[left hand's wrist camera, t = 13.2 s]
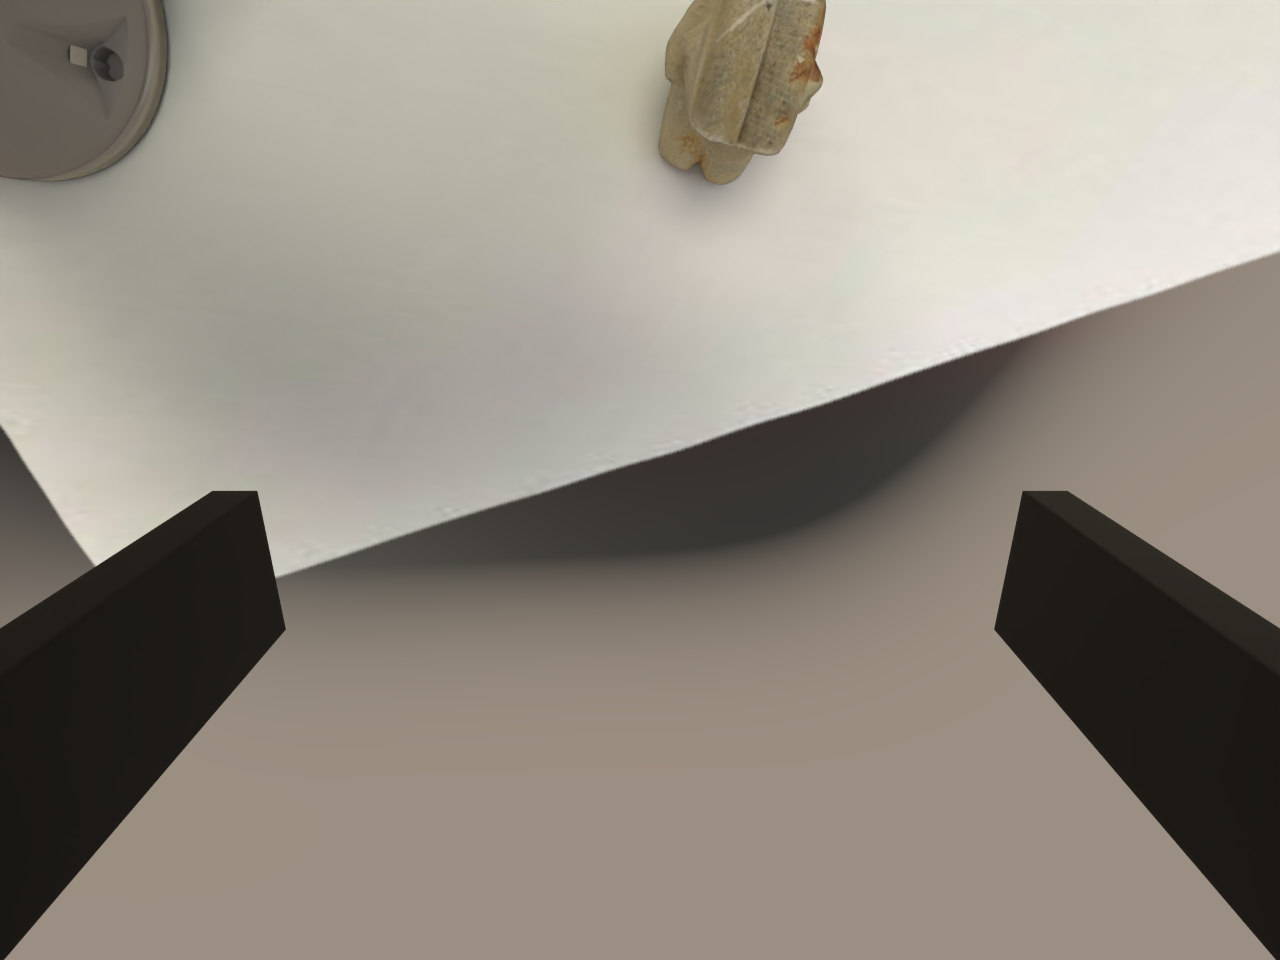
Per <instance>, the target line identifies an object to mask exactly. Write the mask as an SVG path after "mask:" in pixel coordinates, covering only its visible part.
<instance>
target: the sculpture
mask: <svg viewBox="0 0 1280 960" xmlns="http://www.w3.org/2000/svg"><path fill="white" fill-rule="evenodd" d="M825 11H826V1H825V0H695V1H693V3H692V4H691V5H690V7H689V8H688V10H687V11H686V13H685V15H684V16H683V18H682V19H681V21H680V22H679V24H678V25H677V27H676V28H675V30H674V32H673V34H672V35H671V37H670V39H669V41H668V44H667V48H666V58H665V75H666V78H667V79H668V80H669V81H670V82H671V83H672V85H671V89H670V92H669V96H668V100H667V104H666V108H665V112H664V117H663V122H662V128H661V134H660V140H659V151H660V154H661V156H662V157H663V158H664V159H665V160H666V161H667V162H669V163H670V164H672V165H674V166H675V167H677V168H679V169H685V170H688V169H690V168H691V167H692V166H693V165H694V164H695V163H698V164H699V165H701V167H702V170H703V173H704V176H705V178H706V179H707V180H709V181H711V182H714V183H717V184H727V183H730V182H732V181H734V180H735V179H737V178H738V177H739V176H740V174H741V173H742V172H743V171H744V169H745V168H746V166H747V164H748V163H749V161H750V159H751V157H752V155H753V154H760V155H766V156H769V155H775V154H778V153H779V152H780V151H781V149H782V148H783V147H784V145H785V143H786V141H787V139H788V137H789V135H790V132H791V130H792V128H793V126H794V123H795V120H796V117H797V115H798V114H799V113H801V112H802V111H804V110H805V109H806V108H807V107H808V105H809V102H810V99H811V97H812V96H813V95H814V94H815V93H816V92H817V91H818V90H819V89H820V88H821V86H822V83H823V77H822V75H821V72H820V70H819V67H818V65H817V63H816V61H815V58H816V55H817V52H818V47H819V43H820V39H821V35H822V30H823V24H824V18H825Z"/></svg>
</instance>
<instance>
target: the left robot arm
mask: <svg viewBox="0 0 1280 960" xmlns="http://www.w3.org/2000/svg"><path fill="white" fill-rule="evenodd" d="M166 66H167V34H166V26H165V18H164V13H163V8H162V3H161V0H0V176H1V177H6V178H14V179H25V180H43V181H58V180H68V179H74V178H79V177H83V176H87V175H90V174H92V173H95V172H98V171H100V170H102V169H104V168H106V167H108V166H110V165H111V164H113V163H114V162H116V161H117V160H119V159H120V158H122V157H123V156H124V155H125V154H126V153H127V152H128V151H129V150H130V149H132V147H133V146H134V145H135V144H136V143H137V142H138V141H139V139H140V138H141V137H142V135H143V134H144V132H145V131H146V129H147V128H148V126H149V124H150V122H151V120H152V118H153V116H154V114H155V112H156V109H157V107H158V104H159V101H160V98H161V94H162V90H163V86H164V81H165V74H166ZM285 630H286V628H285V623H284V619H283V614H282V609H281V604H280V599H279V594H278V590H277V585H276V580H275V575H274V570H273V565H272V560H271V555H270V551H269V546H268V541H267V536H266V531H265V526H264V521H263V517H262V512H261V507H260V502H259V497H258V492H257V491H212V492H210V493H209V494H207V495H206V496H204V497H203V498H201V499H199V500H198V501H196V502H195V503H193V504H192V505H190V506H189V507H187V508H186V509H184V510H182V511H181V512H179V513H178V514H176V515H175V516H173V517H172V518H170V519H169V520H167V521H165V522H164V523H162V524H161V525H159V526H158V527H156V528H155V529H153V530H152V531H150V532H148V533H147V534H145V535H144V536H142V537H141V538H139V539H138V540H136V541H135V542H133V543H131V544H130V545H128V546H127V547H125V548H124V549H122V550H121V551H119V552H118V553H116V554H115V555H113V556H111V557H110V558H108V559H107V560H105V561H104V562H102V563H101V564H99V565H98V566H96V567H95V568H93V569H91V570H90V571H88V572H87V573H85V574H84V575H82V576H81V577H79V578H77V579H76V580H74V581H73V582H71V583H70V584H68V585H67V586H65V587H64V588H62V589H60V590H59V591H57V592H56V593H54V594H53V595H51V596H50V597H48V598H47V599H45V600H44V601H42V602H40V603H39V604H37V605H36V606H34V607H33V608H31V609H30V610H28V611H27V612H25V613H23V614H22V615H20V616H19V617H17V618H16V619H14V620H13V621H11V622H10V623H8V624H7V625H5V626H3V627H2V628H0V960H4V959H5V958H6V957H7V956H8V954H9V953H10V952H11V951H12V950H13V949H14V947H15V946H16V945H17V944H18V943H19V941H20V940H21V939H22V938H23V937H24V936H25V934H26V933H27V932H28V931H29V930H30V929H31V927H32V926H33V925H34V924H35V923H36V922H37V920H38V919H39V918H40V917H41V916H42V915H43V913H44V912H45V911H46V910H47V909H48V908H49V906H50V905H51V904H52V903H53V902H54V901H55V899H56V898H57V897H58V896H59V895H60V893H61V892H62V891H63V890H64V889H65V888H66V886H67V885H68V884H69V883H70V882H71V881H72V879H73V878H74V877H75V876H76V875H77V873H78V872H79V871H80V870H81V869H82V868H83V867H84V865H85V864H86V863H87V862H88V861H89V859H90V858H91V857H92V856H93V855H94V854H95V852H96V851H97V850H98V849H99V848H100V847H101V845H102V844H103V843H104V842H105V841H106V840H107V838H108V837H109V836H110V835H111V834H112V832H113V831H114V830H115V829H116V828H117V827H118V825H119V824H120V823H121V822H122V821H123V820H124V818H125V817H126V816H127V815H128V814H129V813H130V811H131V810H132V809H133V808H134V807H135V805H136V804H137V803H138V802H139V801H140V800H141V799H142V797H143V796H144V795H145V794H146V793H147V791H148V790H149V789H150V788H151V787H152V786H153V784H154V783H155V782H156V781H157V780H158V779H159V777H160V776H161V775H162V774H163V773H164V771H165V770H166V769H167V768H168V767H169V766H170V765H171V763H172V762H173V761H174V760H175V759H176V757H177V756H178V755H179V754H180V753H181V752H182V750H183V749H184V748H185V747H186V746H187V745H188V743H189V742H190V741H191V740H192V739H193V738H194V736H195V735H196V734H197V733H198V732H199V731H200V729H201V728H202V727H203V726H204V725H205V723H206V722H207V721H208V720H209V719H210V718H211V716H212V715H213V714H214V713H215V712H216V711H217V709H218V708H219V707H220V706H221V705H222V703H223V702H224V701H225V700H226V699H227V698H228V697H229V695H230V694H231V693H232V692H233V691H234V689H235V688H236V687H237V686H238V685H239V684H240V682H241V681H242V680H243V679H244V678H245V677H246V675H247V674H248V673H249V672H250V671H251V670H252V668H253V667H254V666H255V665H256V664H257V663H258V661H259V660H260V659H261V658H262V657H263V655H264V654H265V653H266V652H267V651H268V650H269V648H270V647H271V646H272V645H273V644H274V643H275V641H276V640H277V639H278V638H279V637H280V636H281V634H282V633H283V632H284V631H285ZM994 630H995V631H996V632H997V633H998V634H999V636H1000V637H1001V638H1002V639H1003V640H1004V641H1005V643H1006V644H1007V645H1008V646H1009V647H1010V648H1011V650H1012V651H1013V652H1014V653H1015V654H1016V655H1017V657H1018V658H1019V659H1020V660H1021V661H1022V662H1023V664H1024V665H1025V666H1026V667H1027V668H1028V670H1029V671H1030V672H1031V673H1032V674H1033V675H1034V677H1035V678H1036V679H1037V680H1038V681H1039V682H1040V684H1041V685H1042V686H1043V687H1044V688H1045V689H1046V691H1047V692H1048V693H1049V694H1050V695H1051V696H1052V698H1053V699H1054V700H1055V701H1056V702H1057V704H1058V705H1059V706H1060V707H1061V708H1062V709H1063V711H1064V712H1065V713H1066V714H1067V715H1068V716H1069V718H1070V719H1071V720H1072V721H1073V722H1074V723H1075V725H1076V726H1077V727H1078V728H1079V729H1080V731H1081V732H1082V733H1083V734H1084V735H1085V736H1086V738H1087V739H1088V740H1089V741H1090V742H1091V743H1092V745H1093V746H1094V747H1095V748H1096V749H1097V750H1098V752H1099V753H1100V754H1101V755H1102V756H1103V757H1104V759H1105V760H1106V761H1107V762H1108V763H1109V765H1110V766H1111V767H1112V768H1113V769H1114V770H1115V772H1116V773H1117V774H1118V775H1119V776H1120V777H1121V779H1122V780H1123V781H1124V782H1125V783H1126V784H1127V786H1128V787H1129V788H1130V789H1131V790H1132V791H1133V793H1134V794H1135V795H1136V796H1137V797H1138V799H1139V800H1140V801H1141V802H1142V803H1143V804H1144V806H1145V807H1146V808H1147V809H1148V810H1149V811H1150V813H1151V814H1152V815H1153V816H1154V817H1155V818H1156V820H1157V821H1158V822H1159V823H1160V824H1161V825H1162V827H1163V828H1164V829H1165V830H1166V831H1167V833H1168V834H1169V835H1170V836H1171V837H1172V838H1173V840H1174V841H1175V842H1176V843H1177V844H1178V845H1179V847H1180V848H1181V849H1182V850H1183V851H1184V852H1185V854H1186V855H1187V856H1188V857H1189V858H1190V859H1191V861H1192V862H1193V863H1194V864H1195V865H1196V866H1197V868H1198V869H1199V870H1200V871H1201V872H1202V874H1203V875H1204V876H1205V877H1206V878H1207V879H1208V881H1209V882H1210V883H1211V884H1212V885H1213V886H1214V888H1215V889H1216V890H1217V891H1218V892H1219V893H1220V895H1221V896H1222V897H1223V898H1224V899H1225V900H1226V902H1227V903H1228V904H1229V905H1230V906H1231V908H1232V909H1233V910H1234V911H1235V912H1236V913H1237V915H1238V916H1239V917H1240V918H1241V919H1242V920H1243V922H1244V923H1245V924H1246V925H1247V926H1248V927H1249V929H1250V930H1251V931H1252V932H1253V933H1254V934H1255V936H1256V937H1257V938H1258V939H1259V940H1260V942H1261V943H1262V944H1263V945H1264V946H1265V947H1266V949H1267V950H1268V951H1269V952H1270V953H1271V954H1272V956H1273V957H1274V958H1275V959H1276V960H1280V628H1278V627H1277V626H1275V625H1274V624H1272V623H1270V622H1269V621H1267V620H1266V619H1264V618H1263V617H1261V616H1260V615H1258V614H1257V613H1255V612H1253V611H1252V610H1250V609H1249V608H1247V607H1246V606H1244V605H1243V604H1241V603H1240V602H1238V601H1237V600H1235V599H1233V598H1232V597H1230V596H1229V595H1227V594H1226V593H1224V592H1223V591H1221V590H1220V589H1218V588H1216V587H1215V586H1213V585H1212V584H1210V583H1209V582H1207V581H1206V580H1204V579H1203V578H1201V577H1199V576H1198V575H1196V574H1195V573H1193V572H1192V571H1190V570H1189V569H1187V568H1186V567H1184V566H1182V565H1181V564H1179V563H1178V562H1176V561H1175V560H1173V559H1172V558H1170V557H1169V556H1167V555H1165V554H1164V553H1162V552H1161V551H1159V550H1158V549H1156V548H1155V547H1153V546H1152V545H1150V544H1148V543H1147V542H1145V541H1144V540H1142V539H1141V538H1139V537H1138V536H1136V535H1135V534H1133V533H1132V532H1130V531H1128V530H1127V529H1125V528H1124V527H1122V526H1121V525H1119V524H1118V523H1116V522H1115V521H1113V520H1111V519H1110V518H1108V517H1107V516H1105V515H1104V514H1102V513H1101V512H1099V511H1098V510H1096V509H1094V508H1093V507H1091V506H1090V505H1088V504H1087V503H1085V502H1084V501H1082V500H1081V499H1079V498H1077V497H1076V496H1074V495H1073V494H1071V493H1070V492H1068V491H1023V492H1022V497H1021V502H1020V507H1019V512H1018V517H1017V521H1016V526H1015V531H1014V536H1013V541H1012V546H1011V551H1010V555H1009V560H1008V565H1007V570H1006V575H1005V580H1004V585H1003V589H1002V594H1001V599H1000V604H999V609H998V614H997V619H996V624H995V628H994Z"/></svg>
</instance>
